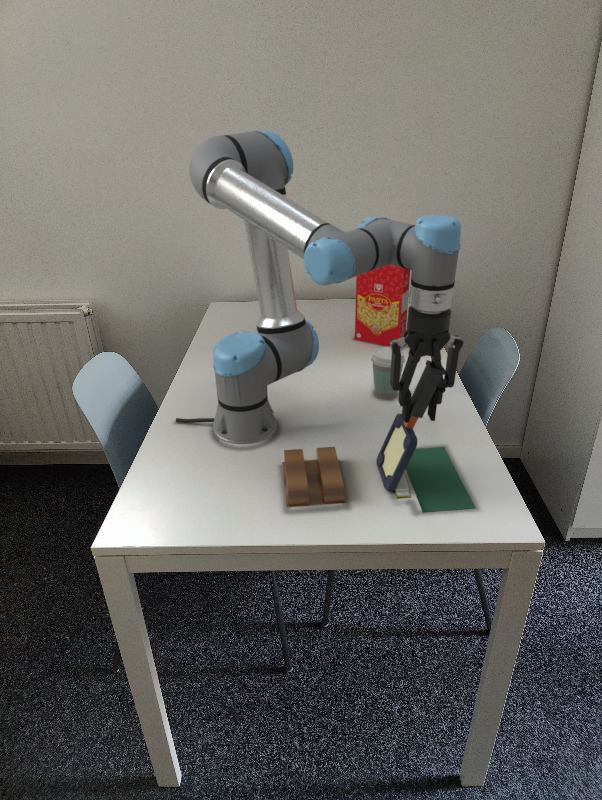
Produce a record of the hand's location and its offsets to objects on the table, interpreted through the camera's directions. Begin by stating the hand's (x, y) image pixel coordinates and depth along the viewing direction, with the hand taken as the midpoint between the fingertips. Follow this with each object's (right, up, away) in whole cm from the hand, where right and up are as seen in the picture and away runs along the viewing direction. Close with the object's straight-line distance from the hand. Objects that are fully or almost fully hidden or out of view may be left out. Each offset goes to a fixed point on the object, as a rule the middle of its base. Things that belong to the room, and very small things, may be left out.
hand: (418, 417), depth 116 cm
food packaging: (+1, +22, +68) cm, 71 cm away
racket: (-6, -13, +7) cm, 15 cm away
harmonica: (-3, -13, +7) cm, 16 cm away
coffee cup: (-1, +5, +39) cm, 39 cm away
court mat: (+4, -13, +8) cm, 16 cm away
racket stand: (-21, -14, +6) cm, 26 cm away
